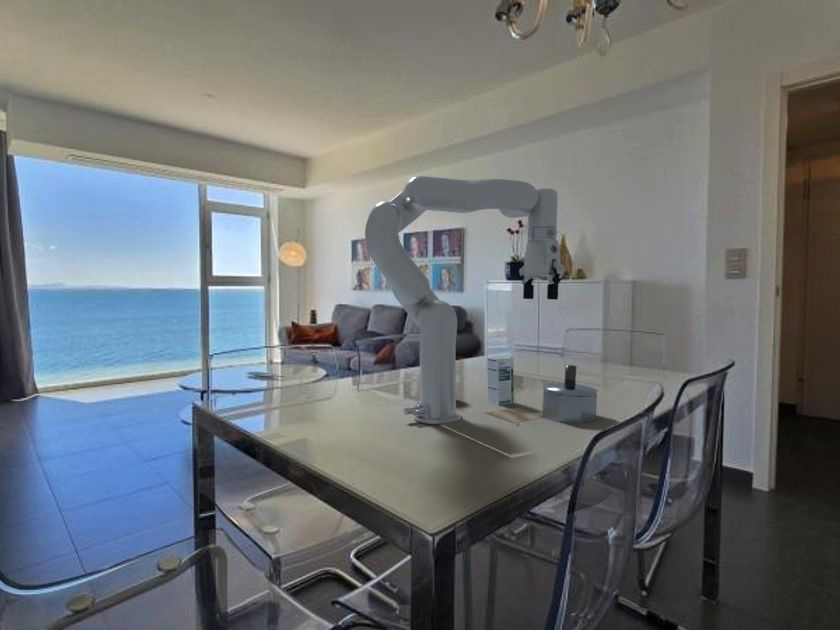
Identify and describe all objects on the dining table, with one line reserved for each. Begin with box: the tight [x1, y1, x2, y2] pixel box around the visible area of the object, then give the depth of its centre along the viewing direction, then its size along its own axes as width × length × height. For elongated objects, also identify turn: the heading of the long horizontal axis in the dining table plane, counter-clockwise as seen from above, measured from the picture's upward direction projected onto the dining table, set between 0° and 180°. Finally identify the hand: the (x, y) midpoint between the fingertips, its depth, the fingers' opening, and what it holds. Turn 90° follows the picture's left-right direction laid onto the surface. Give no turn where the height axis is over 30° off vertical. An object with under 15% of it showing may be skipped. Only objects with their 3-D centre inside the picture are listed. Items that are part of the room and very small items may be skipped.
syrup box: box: [486, 355, 515, 406], centre depth 143 cm, size 6×6×14 cm
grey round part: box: [542, 364, 598, 424], centre depth 126 cm, size 14×14×14 cm
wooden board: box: [485, 407, 545, 424], centre depth 128 cm, size 12×12×1 cm
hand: (539, 299), depth 129 cm, fingers open, 9 cm apart
